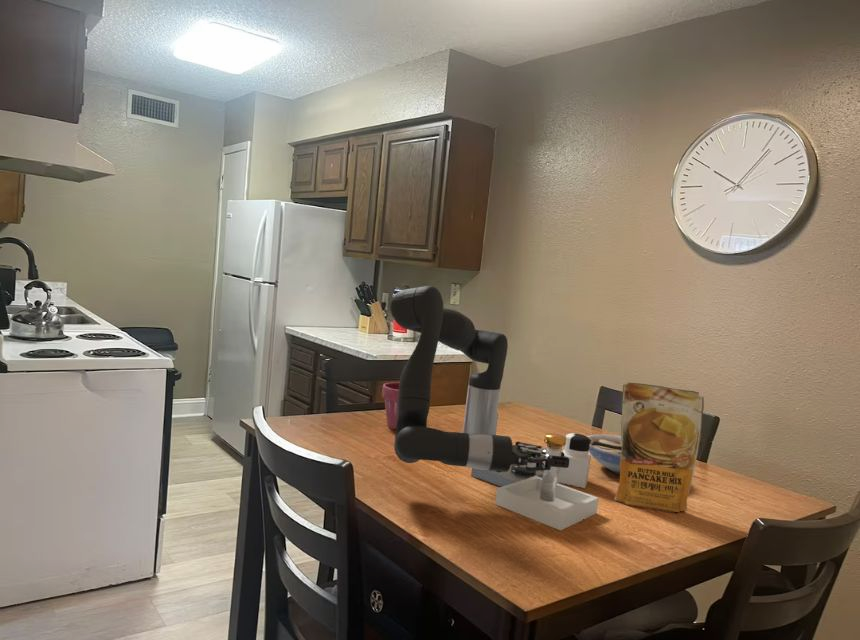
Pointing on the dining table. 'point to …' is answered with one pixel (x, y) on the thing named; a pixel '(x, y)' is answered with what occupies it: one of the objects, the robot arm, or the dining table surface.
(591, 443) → the ramen bowl
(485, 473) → the grey flat square block
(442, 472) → the dining table surface
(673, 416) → the pancake mix bag
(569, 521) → the tray
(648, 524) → the dining table surface
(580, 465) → the medicine bottle
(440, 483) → the dining table surface
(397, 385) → the plant pot
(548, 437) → the pin
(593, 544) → the dining table surface
